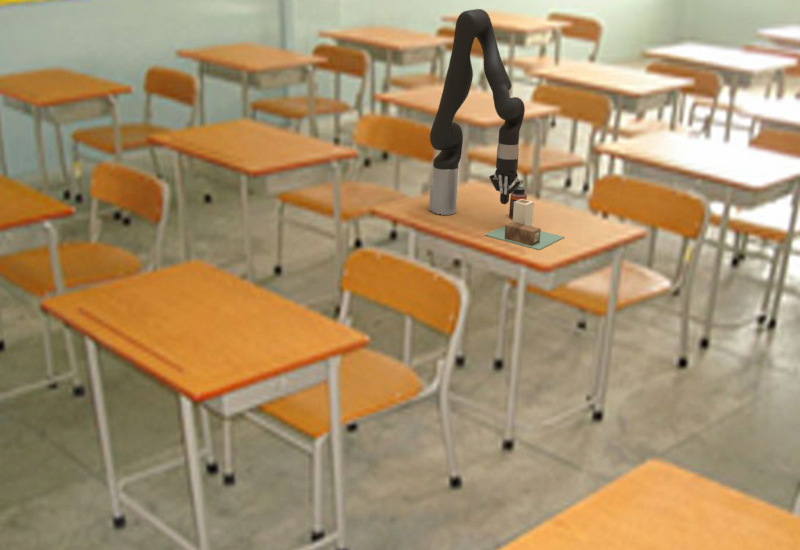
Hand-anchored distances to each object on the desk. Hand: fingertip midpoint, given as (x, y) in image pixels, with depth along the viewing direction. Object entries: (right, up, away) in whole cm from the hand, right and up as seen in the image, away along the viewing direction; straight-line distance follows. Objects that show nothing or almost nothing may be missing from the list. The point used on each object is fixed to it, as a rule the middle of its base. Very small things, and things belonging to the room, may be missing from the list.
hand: (504, 203), depth 347 cm
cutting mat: (+6, -12, -5) cm, 15 cm away
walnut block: (+1, -10, -8) cm, 13 cm away
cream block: (+6, -10, -1) cm, 12 cm away
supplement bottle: (+6, -4, +15) cm, 17 cm away
